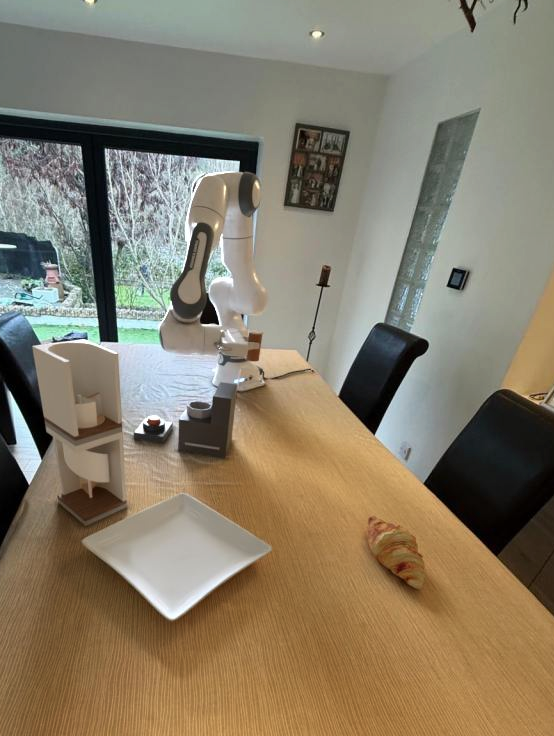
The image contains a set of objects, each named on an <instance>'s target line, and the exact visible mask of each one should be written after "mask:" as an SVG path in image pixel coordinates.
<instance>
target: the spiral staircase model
mask: <svg viewBox="0 0 554 736" xmlns="http://www.w3.org/2000/svg"><path fill="white" fill-rule="evenodd" d="M31 348H32V354H33V359H34V360H33V361H34V366H35V371H36V378H37V384H38V390H39V396H40V402H41V407H42V413H43V414H42V415H43V418H44V424H45V425H44V427H45V432H46V433H47V434H49V435H50V436H52V439H53V446H54V453H55V459H56V466H57V471H58V478H59V483H60V491H61V493H59V494H57V502H58V504H59V505H60V506H62V507H63V508H64V509H65V510H66V511H68V512H69V514H71V515H72V516H73V517H75V518H76V519H77V520H78V521H79V522H81V523H82V524H83V525H84V526H85V527H86V526H87V527H88V526H89V525H91V524H93V523H96V522H97V521H100V520H103V519H104V518H107V517H109V516H111V515H113V514H116V513H117V512H120V511H122V510H124V509H126V508H128V504H127V485H126V468H125V450H124V448H125V447H124V432H123V414H122V397H121V396H122V395H121V381H120V379H121V378H120V361H119V360H120V359H119V353H118V352H116V351H114V350H112V349H110V348H107V347H104V346H102V345H99V344H97V343H95V342H92V341H90V340H87V339H86V338H82V339H74V340H66V341H59V342H51V343H43V344H36V345H32V346H31Z"/></svg>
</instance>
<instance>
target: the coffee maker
mask: <svg viewBox="0 0 554 736" xmlns="http://www.w3.org/2000/svg"><path fill="white" fill-rule="evenodd" d="M237 392H238V391H237V384H230V383H223V382H220V384H219V386H218V387H217V388H216V389H215V391H214V393H213V395H212V401H211V402H212V404H211V403H210V402H208V401H202V400H193V401H189V402H188V403H187V405H186V407H185V409H184V410H183V412H182V414H181V416H180V417H179V418H178V439H177V442H178V444H177V449H178V450H177V451H178V452H182V453H187V454H193V455H201V456H208V457H212V458H220V459H227V456H228V452H229V449H230V446H231V444H232V439H233V431H234V420H235V411H236V401H237Z"/></svg>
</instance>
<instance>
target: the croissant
mask: <svg viewBox="0 0 554 736" xmlns="http://www.w3.org/2000/svg"><path fill="white" fill-rule="evenodd" d="M367 525H368V526H367V529H366V536H367V545H368V546H369V547H368V548H369V549H370V552H371V554H372V555H373V556H374V557H375V559H376V560H377V561H378V562H379V564H381V565H382V566H384V567H385V568H387V569H389V570H390V571H391V573H392V574H394V575H395V576H398V577H399V578H400V579H403V580H404V581H405V583H406V584H407V585H408V586H410V587H412V588H414V589H418V590H421V589H422V588H423V587H424V584H425V580H426V572H425V571H424V570H425V562H424V561H425V560H424V556H423V555H422V553H420V552H419V545H418V542H417V538H416V536H414V535H413V534H412V532H411V531H409V530H408V529H407V528H405V527H404V526H402V525H400V524H399V525H395V524H394V523H392V522H386V521H385V520H384V519H381V518H377V516H375V515H371V516H369V518H368V521H367Z"/></svg>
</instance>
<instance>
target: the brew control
mask: <svg viewBox="0 0 554 736" xmlns="http://www.w3.org/2000/svg"><path fill="white" fill-rule="evenodd" d="M173 426H174V422H173V421H166V420H164V419H163V418H160V424H157V425H151V424H148V417H147V418H146V417H145V418H144V419H143V421H142V422H141V423H140V424H139V425H138V426H137V428H136V429H135V430H134V432H133V439H134V440H138V441H144V442H145V441H146V442H151V443H158V444H164V443H165V441H166V440H167V438H168V436H169V435H170V433H171V432H172V431H173Z"/></svg>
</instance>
